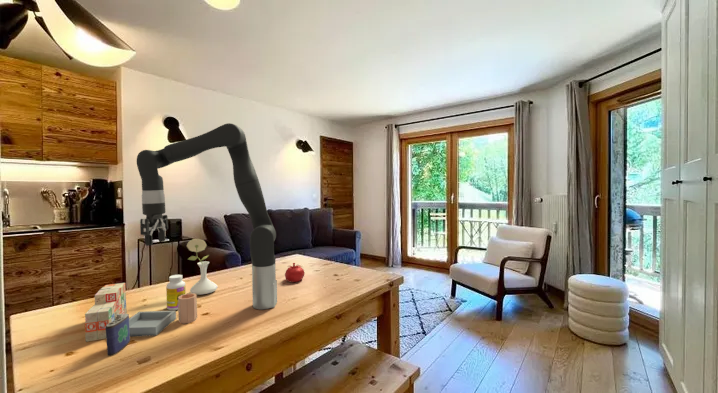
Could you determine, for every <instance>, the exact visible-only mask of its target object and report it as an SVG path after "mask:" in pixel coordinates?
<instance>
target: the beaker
mask: <svg viewBox="0 0 718 393" xmlns="http://www.w3.org/2000/svg"><path fill="white" fill-rule="evenodd" d="M197 298H198V294H194V293H191V292H190V293H186V294H184V295H181V296H179V297H178V310H177V311H178V315H177V316H178V322H179V323H180V324H184V325H185V324H191V323H193V322H196V320H197V318H198V299H197Z"/></svg>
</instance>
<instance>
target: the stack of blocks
mask: <svg viewBox="0 0 718 393" xmlns="http://www.w3.org/2000/svg"><path fill="white" fill-rule="evenodd" d="M126 290H127V289H126V282H120V283H112V284H105V285H104V286H103V287H101V288H100V289H99V290H98V291H97V292H96V293H95V294H94V304H93V306H90V308H89V309H88V310H87V312H85V314H84V317H85V318H84V320H85V322H84V332H85V333H84V334H85V335H84V336H85V342H86V343H87V342H92V341H97V340H98V341H100V340H104V339H106V325H107V324H109V322H113V321H114V320H115V318H116V317H117V315H115V314H128V313H127V312H128V311H127V309H128V308H127V293H126Z"/></svg>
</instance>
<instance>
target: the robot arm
mask: <svg viewBox="0 0 718 393" xmlns="http://www.w3.org/2000/svg"><path fill="white" fill-rule="evenodd" d="M246 137H247V136H246V134H245V132H244V130H243V129H242V128H241V127H239V126H238V125H236V124H234V123H225V124H222V125H220V126H217V127H216V128H214V129H212V130H210V131H207V132H205V133H203V134H200V135H197V136H194V137H191V138H188V139H185V140H181V141H177V142H173V143H170V144H167V145H165V146H164V148H162V149H158V150H150V149H144V150H143V149H142V150H141V151H140V152H139V153H138V154H137V156H136V165H137V166H136V167H137V171H138V173H139V176H140V179H141V207H142V208H141V209H142V215H144V216H146V217H145V218H140V220H139V225H140V229H139V230H140V232H139V233H140V235H141V236H144V238H145V239H144V240H145V242H144V243H145V246H147V247H149V246H153V245H154V244H153V242H154V240H153V233H154V231H156V230H157V231H158V234H157V235H158V242H165V241H166V231H167V230H169V220H168V219H169V218H168V215H167V214H165V213H166V197H165V191H164V179H163V177H162V176H161V175H159V170H160V169H162V168H164V167H167V166H169V165H172V164H174V163H178V162H181V161H184V160H188V159H190V158H191V159H192V158H194V157H196V156H197V155H198V156H199V154H200V155H201V154H202V153H205V152H206V151H209V150H212V149H217V148H222V147H223V148H225V147H226V149H227V151H228V153H229V156H230V159H231V162H232V172H233V173H232V174H233V181H234V182H233V183H234V186H235V188H236V192H237V195H238V198H239V200H240V202H241V204H242V206H243V207H244V209H245V211H247V213H248V215H249V217H250V220H251V224H252V229H253V230H252V231H251V233H250V236H249V248H250V249H249V250H250V251H249V253H250V255H249V256H250V260H251V275H252V277H251V280H252V281H251V282H252V283H251V284H252V286H251V287H252V289H251V290H252V308H253V309H255V310H267V309H270V308H272V309H273V308H275V307H276V305H277V303H278V280H277V279H276V276H277V275H276V272H277V271H276V256H275V240H276V238H277V231H276V229H275V227H274V224H273V222H272V219H271V217H270V216H269V212H268V210H267V206H266V202H265V197H264V193H263V190H262V187H261V186H262V185H261V183H260V180H259V178H258V175H257V171H256V169H255V166H254V164H253V162H252V159H251V156H250V152H249V148H248V144H247V138H246ZM158 169H159V170H158Z"/></svg>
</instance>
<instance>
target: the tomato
mask: <svg viewBox="0 0 718 393" xmlns="http://www.w3.org/2000/svg"><path fill="white" fill-rule="evenodd" d="M305 274H306V273H305V270H304V268H303V267H302V266H301V265H300V264H296V263H295V262H293V263H292V265H287V269H286V270H285V273H284V276H285V278H284V279H285V280H286V281H287V282H289V283H297V282H300V281H301V280H303V279H304V277H305Z"/></svg>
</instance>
